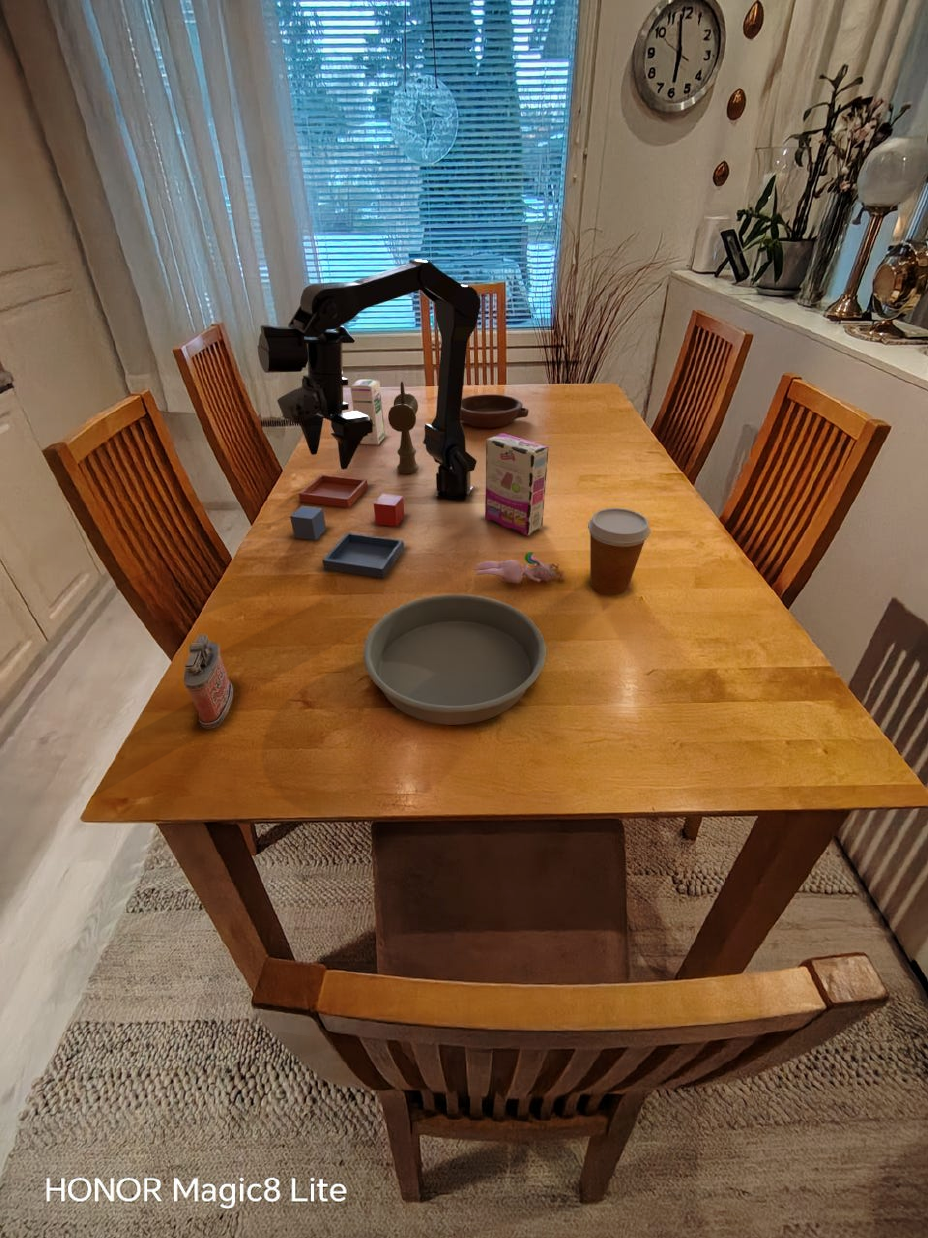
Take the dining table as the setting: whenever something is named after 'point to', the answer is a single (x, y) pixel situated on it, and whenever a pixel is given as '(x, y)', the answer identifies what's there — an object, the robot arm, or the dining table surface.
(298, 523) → the blue block
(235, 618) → the dining table surface
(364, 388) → the syrup box
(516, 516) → the candy bar box
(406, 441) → the kendama
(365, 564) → the blue tray
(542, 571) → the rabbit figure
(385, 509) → the red block
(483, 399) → the dish
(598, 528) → the disposable coffee cup
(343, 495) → the red tray
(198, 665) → the lighter
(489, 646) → the cake pan
